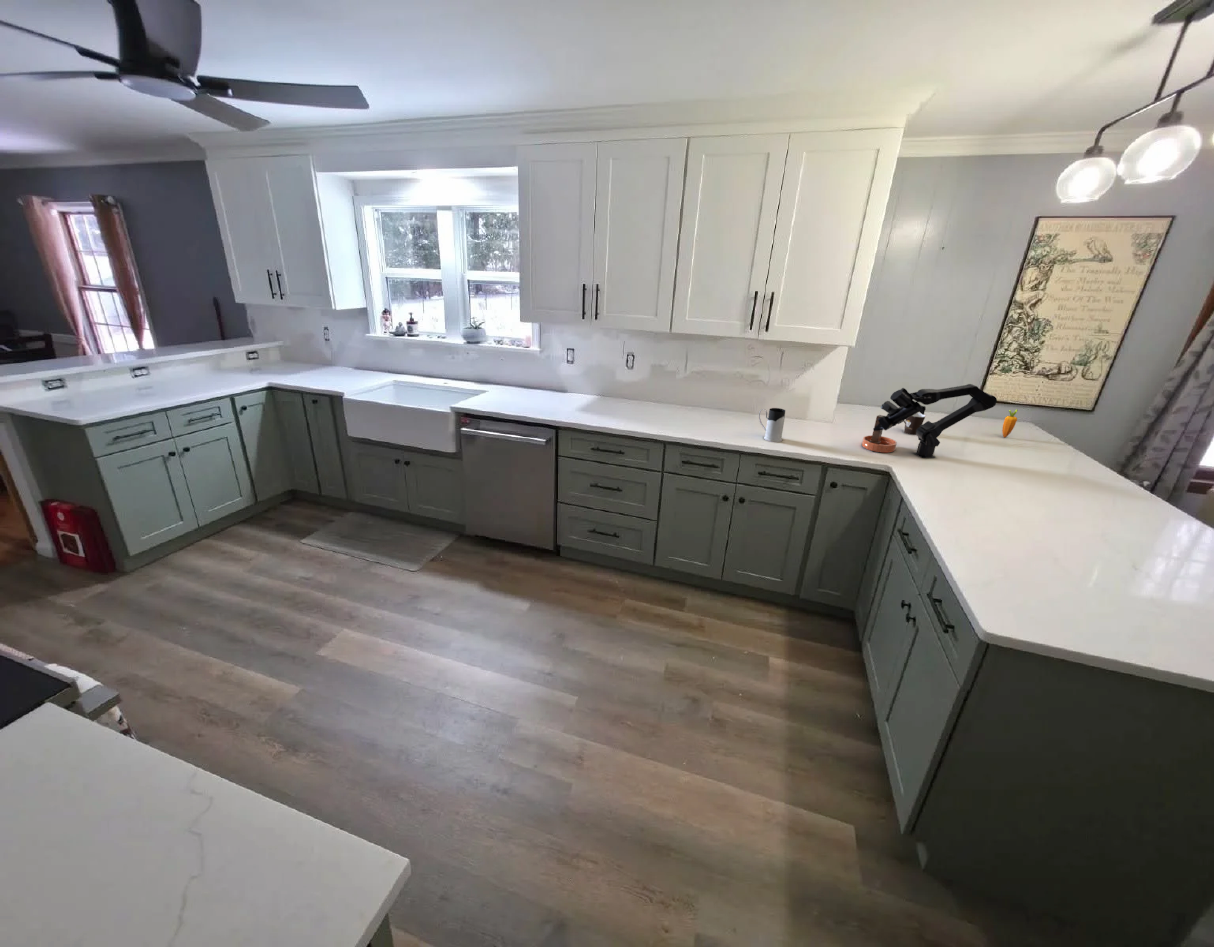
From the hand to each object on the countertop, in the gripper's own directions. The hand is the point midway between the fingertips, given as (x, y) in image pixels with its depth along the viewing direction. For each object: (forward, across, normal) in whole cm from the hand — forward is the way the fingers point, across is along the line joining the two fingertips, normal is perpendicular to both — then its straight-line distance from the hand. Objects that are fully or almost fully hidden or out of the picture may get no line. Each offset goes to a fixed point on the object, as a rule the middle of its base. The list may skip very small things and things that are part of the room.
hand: (875, 429), depth 235 cm
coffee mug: (+4, -40, +9) cm, 41 cm away
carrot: (-21, -68, +34) cm, 79 cm away
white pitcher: (+34, +27, -21) cm, 48 cm away
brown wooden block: (+4, 0, +6) cm, 7 cm away
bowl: (+4, -1, +8) cm, 10 cm away
